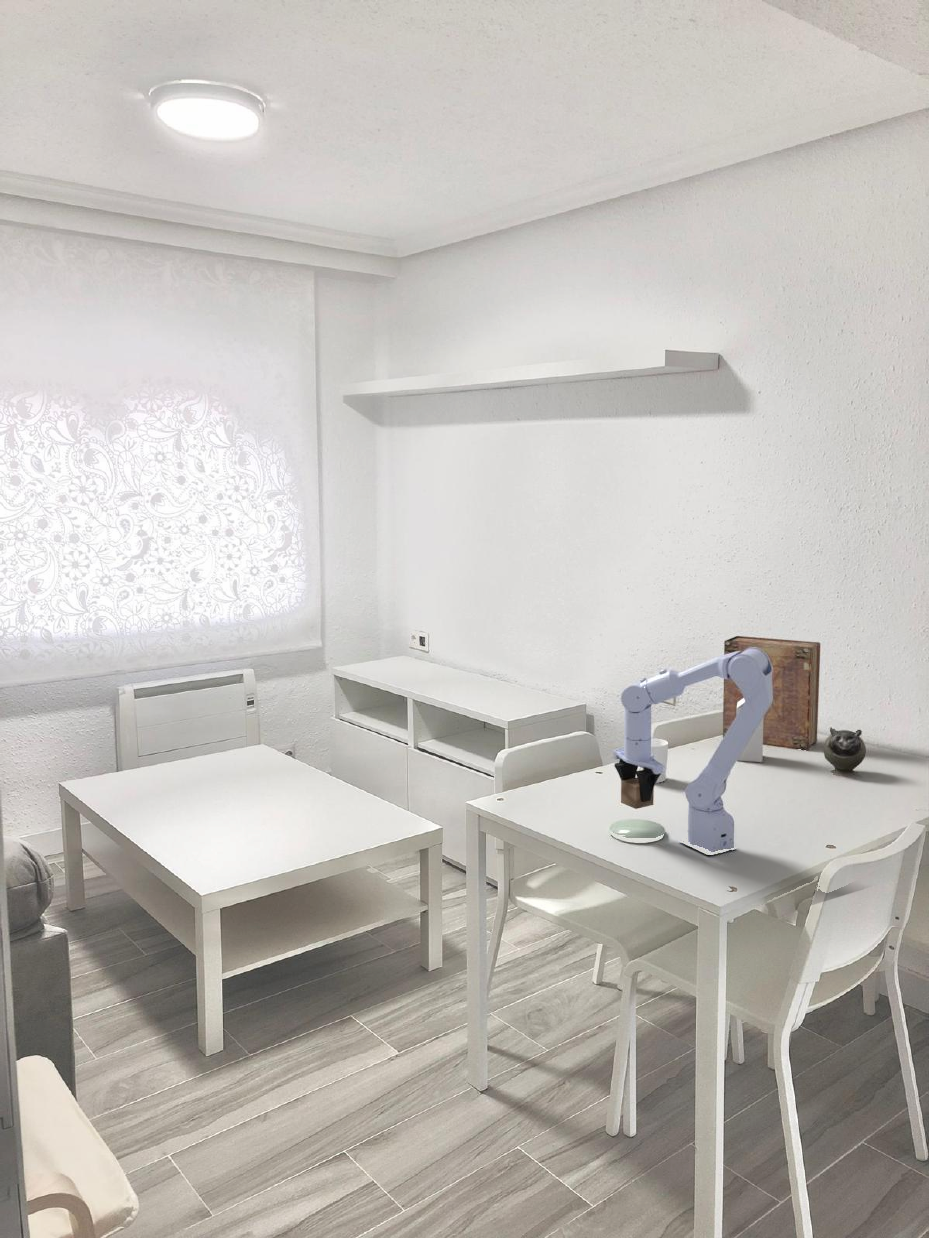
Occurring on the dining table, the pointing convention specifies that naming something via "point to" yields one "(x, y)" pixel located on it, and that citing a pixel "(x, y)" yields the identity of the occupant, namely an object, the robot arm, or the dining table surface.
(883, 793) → the dining table surface
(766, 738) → the book
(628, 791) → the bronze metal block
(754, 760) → the milk carton
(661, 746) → the white cup
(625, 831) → the pale green domed disc
